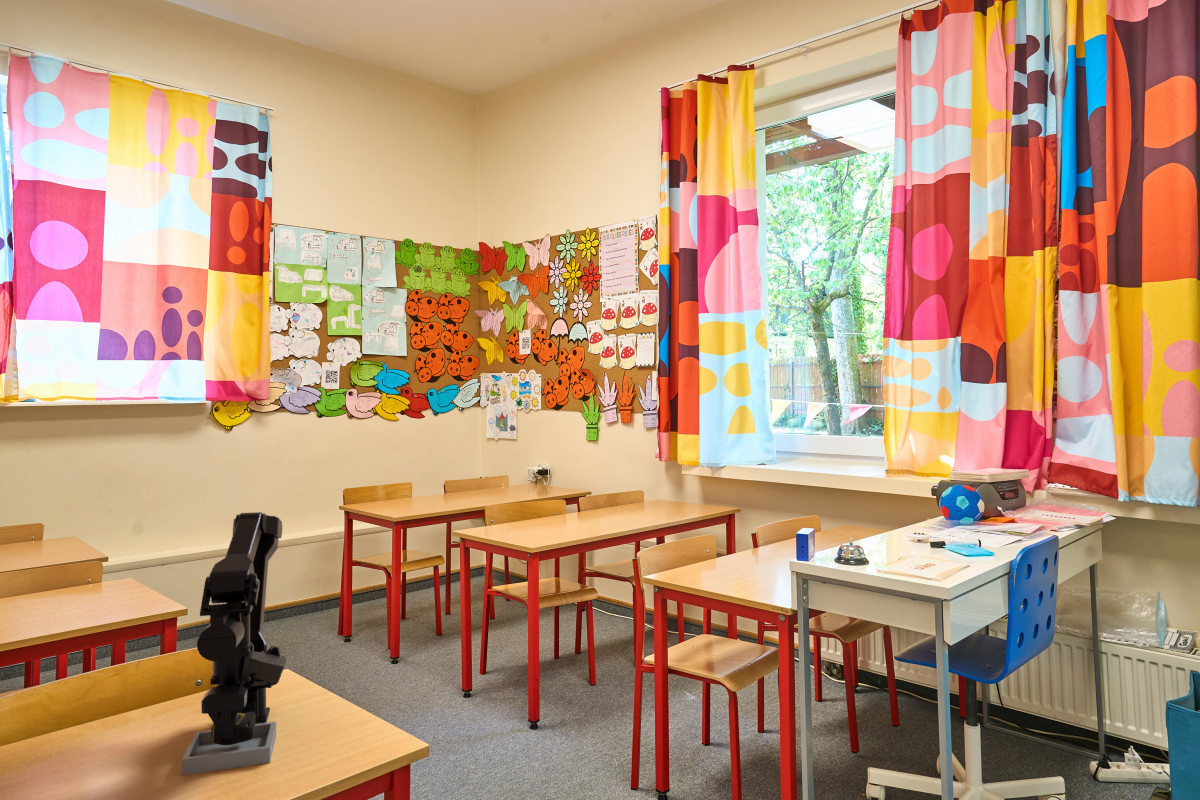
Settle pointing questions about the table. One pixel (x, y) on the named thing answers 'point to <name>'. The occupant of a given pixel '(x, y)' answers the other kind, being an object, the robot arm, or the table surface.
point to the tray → (229, 751)
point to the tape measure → (238, 729)
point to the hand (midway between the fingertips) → (231, 733)
